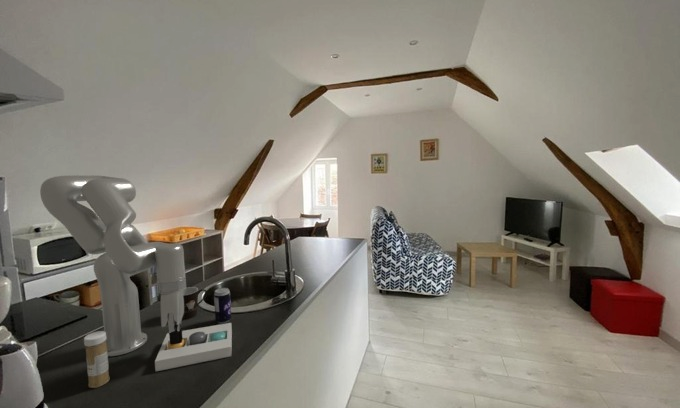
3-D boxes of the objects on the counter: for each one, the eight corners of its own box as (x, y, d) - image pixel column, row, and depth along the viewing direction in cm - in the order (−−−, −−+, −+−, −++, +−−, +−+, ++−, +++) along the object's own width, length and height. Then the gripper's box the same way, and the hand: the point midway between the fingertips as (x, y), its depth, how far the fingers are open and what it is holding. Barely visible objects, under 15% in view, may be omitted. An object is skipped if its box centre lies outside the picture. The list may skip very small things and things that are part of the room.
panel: (155, 371, 84) (154, 361, 83) (167, 342, 99) (167, 333, 98) (231, 356, 90) (230, 346, 90) (231, 330, 105) (231, 322, 105)
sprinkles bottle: (85, 385, 79) (80, 336, 77) (106, 375, 83) (101, 328, 81) (92, 391, 76) (87, 341, 75) (113, 380, 80) (109, 333, 79)
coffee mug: (174, 322, 112) (172, 297, 111) (176, 313, 120) (174, 289, 119) (208, 316, 117) (206, 291, 116) (208, 307, 124) (206, 284, 124)
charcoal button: (188, 348, 92) (188, 340, 91) (190, 340, 96) (190, 333, 95) (204, 345, 93) (204, 337, 93) (205, 337, 97) (205, 330, 97)
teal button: (210, 347, 94) (209, 339, 93) (211, 340, 98) (211, 333, 98) (225, 344, 95) (224, 337, 95) (225, 337, 99) (225, 330, 99)
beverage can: (226, 325, 109) (224, 293, 108) (212, 323, 111) (210, 292, 109) (234, 318, 115) (232, 287, 114) (221, 316, 116) (219, 287, 115)
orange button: (167, 355, 90) (166, 347, 89) (170, 347, 94) (169, 340, 94) (183, 352, 91) (182, 344, 91) (185, 344, 95) (185, 337, 95)
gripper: (163, 278, 96) (167, 333, 98) (151, 295, 82) (156, 359, 84) (189, 275, 99) (193, 328, 100) (181, 291, 85) (186, 353, 86)
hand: (176, 342), depth 92 cm, fingers closed
